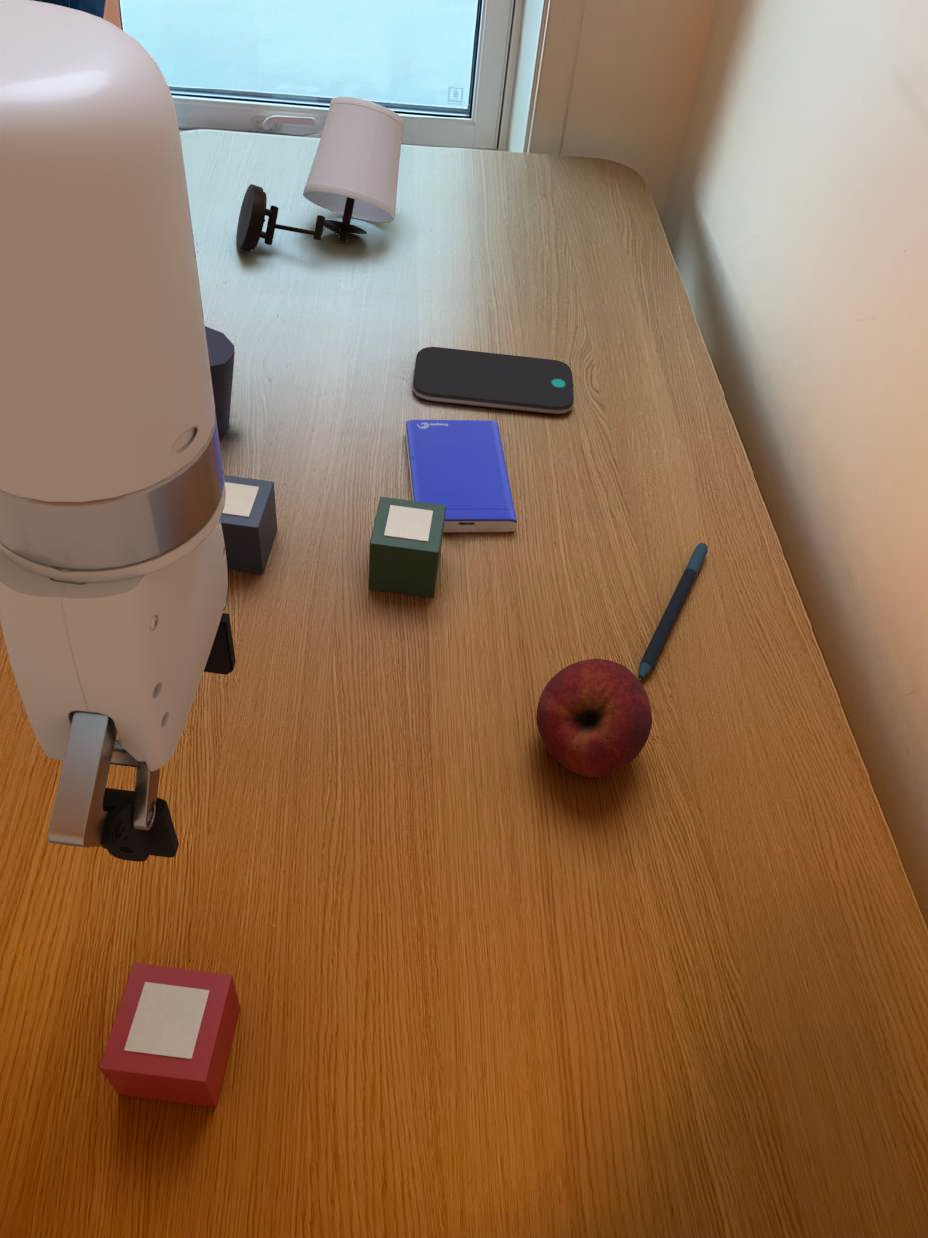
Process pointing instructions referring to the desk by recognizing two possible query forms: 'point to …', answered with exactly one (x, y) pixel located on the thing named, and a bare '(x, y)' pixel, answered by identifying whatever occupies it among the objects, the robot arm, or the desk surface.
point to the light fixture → (339, 175)
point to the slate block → (248, 523)
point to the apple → (594, 717)
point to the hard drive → (461, 473)
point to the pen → (672, 610)
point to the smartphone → (493, 380)
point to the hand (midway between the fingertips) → (174, 750)
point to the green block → (406, 547)
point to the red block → (172, 1035)
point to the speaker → (221, 375)
